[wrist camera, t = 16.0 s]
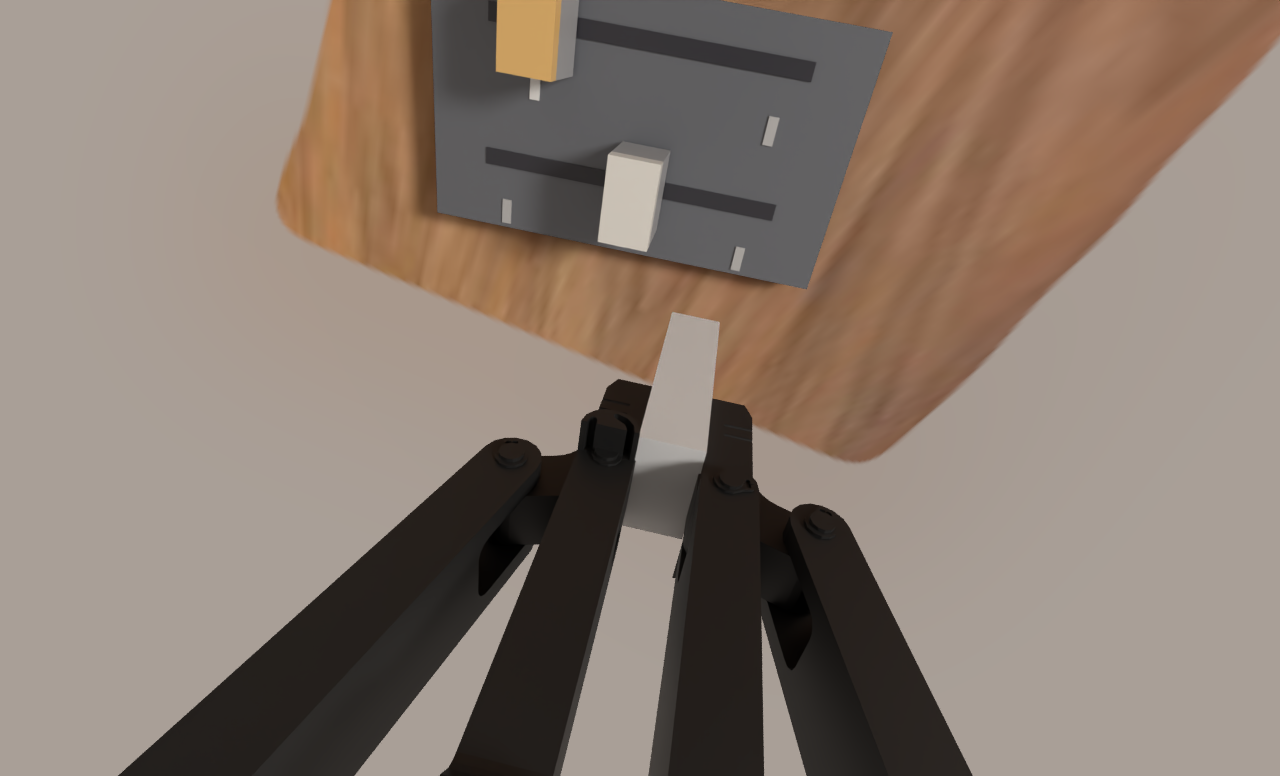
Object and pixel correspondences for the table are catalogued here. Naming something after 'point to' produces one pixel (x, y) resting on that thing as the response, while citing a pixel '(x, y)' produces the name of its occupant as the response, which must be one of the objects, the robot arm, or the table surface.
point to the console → (661, 126)
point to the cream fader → (632, 195)
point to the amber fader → (536, 38)
